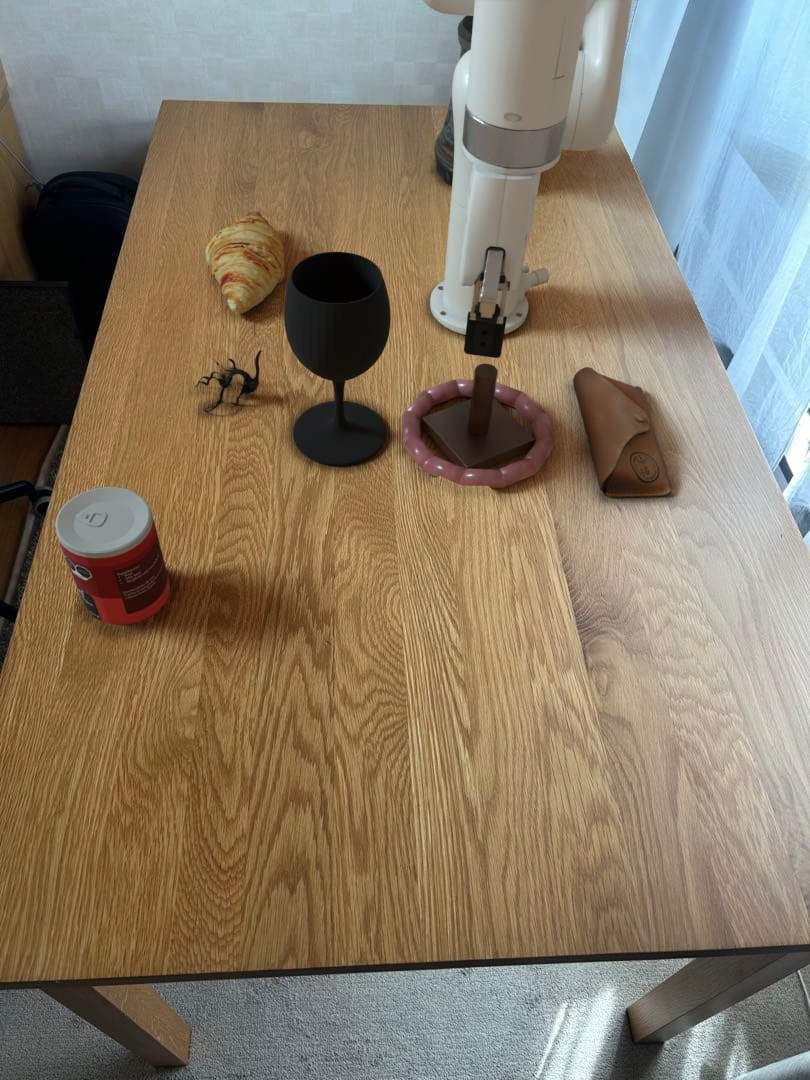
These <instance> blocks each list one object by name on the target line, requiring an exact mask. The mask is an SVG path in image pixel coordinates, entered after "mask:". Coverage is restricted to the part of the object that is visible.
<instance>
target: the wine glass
mask: <svg viewBox="0 0 810 1080" xmlns="http://www.w3.org/2000/svg"><path fill="white" fill-rule="evenodd" d="M283 306H284V307H283V323H284V330H285V334H286V339H287V342H288V345H289V346H290V350H291V351H292V353H293V354H294V356H295V358H296V359H297V361H299V362H300V364H301V365H302V366H303V367H305V369H307V370H308V371H309V372H310V373H312V374H314V375H315V376H317V377H319V378H322V379H324V380H327V381H330V382H332V387H333V394H334V395H333V396H334V400H331V401H330V400H329V401H324V402H321V403H318V404H316V405H313V406H311V407H309V408H308V409H306V410H305V411H303V412H302V413H301V414H300V415H299V417H298V418H297V419H296V421H295V423H294V424H293V429H292V430H293V431H292V437H293V442H294V445H295V447H296V448H297V449H298V451H299V452H300V453H301V454H302V455H303V456H305V458H308V459H309V460H312V461H313V462H316V463H319V464H321V465H325V466H331V467H348V466H355V465H358V464H361V463H364V462H366V461H368V460H369V459H371V458H373V457H375V456H376V455H377V454H378V453H379V452H380V451H381V450H382V448H383V447H384V445H385V442H386V438H387V428H386V424H385V423H384V421H383V419H382V417H381V416H380V415H379V414H378V413H377V412H376V411H375V410H373V409H371V408H370V407H368V406H366V405H364V404H362V403H358V402H354V401H350V400H345V399H344V398H345V397H344V396H345V385H346V382H347V381H351V380H353V379H355V378H358V377H360V376H361V375H363V374H365V373H366V372H367V371H369V370H370V369H371V368H372V367H373V366H374V365H375V364H376V363H377V362H378V360H379V359H380V357H381V356H382V354H383V352H384V350H385V348H386V346H387V344H388V340H389V337H390V331H391V319H392V318H391V303H390V297H389V293H388V289H387V285H386V282H385V279H384V276H383V273H382V271H381V269H380V267H379V266H378V265H377V264H376V263H375V262H373V260H371V259H369V258H367V257H365V256H362V255H360V254H356V253H352V252H346V251H326V252H320V253H316V254H313V255H310V256H308V257H306V258H303V259H302V260H300V261H299V262H297V264H295V266H294V267H293V269H292V270H291V273H290V276H289V279H288V283H287V288H286V291H285V297H284V304H283Z"/></svg>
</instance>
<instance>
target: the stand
mask: <svg viewBox="0 0 810 1080" xmlns="http://www.w3.org/2000/svg"><path fill="white" fill-rule="evenodd" d="M498 374H499V371H498V368H497V367H496V366H495V365H493V364H490V363H480V364H478V365H477V366H476V367H474V372H473V379H472V380H473V388H472V396H471V397H470V399H468V400H465V401H462V402H459V403H456V404H454V405H452V406H449V407H446V408H444V409H441V410H439V411H436V412H434V413H431V414H429V415H425V416H424V417H423V418H422V419H421V428H422V430H423V431H424V432H425V433H426V435H428V436H429V437H430V439H431V440H432V441H433V442H434V443H435V444H436V445H437V447H439V449H440V450H441V451H442V452H443V453H444V454H445V455H446V456H447V458H448V459H449V460H450V461H451V463H453V464H455V465H458V466H460V467H463V468H465V469H490V468H491V467H494V466H497V465H499V464H501V463H503V462H505V461H508V460H511V459H512V458H515V457H517V456H520V455H522V454H524V453H528V452H529V451H530V449H531V448H532V446H533V445H534V443H535V439H534V436H532V434H530V432H528V431H527V430H526V429H525V428H524V427H523V425H522V424H521V423H520V422H518V421H517V419H516V418H515V417H513V415H512V414H511V413H509V411H508V410H506V408H504V406H503V405H501V403H500V402H499V401H496V400H495V399H494V394H495V388H496V382H498V381H497V380H498Z"/></svg>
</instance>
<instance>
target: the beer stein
mask: <svg viewBox="0 0 810 1080" xmlns="http://www.w3.org/2000/svg"><path fill="white" fill-rule="evenodd" d="M473 18H474V16H464V17H463V18H462V19H461V20H460V21H459V23H458V25H457V40H458V43H459V45H460V53H459V58H458V61H459V60H460V59H461V57H462V56H463V55H464V54H465V53H466V52H467V51H469V50H471V40H472V29H473ZM433 151H434V158H435V164H436V173H437V174H438V175H439V177H440V178H441V180H442V181H443V182H444V183H445V184H447V185H448V186H450V187H452V182H453V168H454V121H453V105H452V94H451V96H450V99H449V105H448V109H447V113H446V116H445V119H444V122H443V126H442V129H441V131H440V132H439V135H438V136H437V138H436V141H435V143H434V148H433Z"/></svg>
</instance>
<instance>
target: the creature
mask: <svg viewBox="0 0 810 1080" xmlns="http://www.w3.org/2000/svg"><path fill="white" fill-rule="evenodd" d="M262 352H263V350H262V349H260V350H258V352H257V354H256V355H255V359H254V366H255V376H254V377H253V378H252V376H251V375H250V373H249V372H248V371H245V370H243V369H241V368H237V367H236V362H235V360H234V359H232V358H227V360H228V361H229V362H230V363H231V364H232V367H229V368H228V369H225V368H224V367H223V366H222V365H221V364H220V363H219V362H217V360H215V359H213V361H214V362H215V364H216V365H217V366H218V369H219V371H220V373H219V372H218V371H211V373H210V374H209V376H204V375H203V376H202V377H201V378H200V379H199V380H198V382H197V384H196V386H195V388H197V387H198V386H199V385H200V384H202V385H204V386H205V387H207V386H209V385H210V382H211V380H213V379H216V381H217V382H218V383H219V385H220V387H221V389H220V391H219V397H218V400H217V401H216V402H214V403H212V404H210V405H208V406H205V408H204V409H203V411H204V412H205V413H208V412H211V411H213V410H215V409H216V408H217V407H219V406H220V405H221V404H222V403H223V404H225V405H230V404H231V405H233V406H239V404H240V402H239V401H240V398H241V397H242V395H245V394H246V396H249V394H251V393H254V392H255V391H257V389H258V386H259V383H260V378H259V377H260V363H259V361H260V356H261V353H262ZM220 367H221V368H222V369H223V370H224V373H223V371H222V370H221V368H220ZM227 372H228V375H225V374H226V373H227ZM214 374H218V375H219V376H220V377H218V378H217V377H215V376H214ZM235 375H240V376H242V378H243V382H242V383H240V382H237V384H239V385H240V386H241V387H242V388H241V390H240V393H239V395H237V397H236V398H235V402H228V403H225V402H223V397H224V391H225V389H227V388H229V387H230V386H232V385H233V383H231V382H232V381H233V377H234V376H235ZM202 379H205V380H207V381H206V382H205V381H203V380H202ZM213 405H214V406H213ZM211 406H213V407H212V408H210V409H209V410H206V409H207V408H208V407H211Z"/></svg>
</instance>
